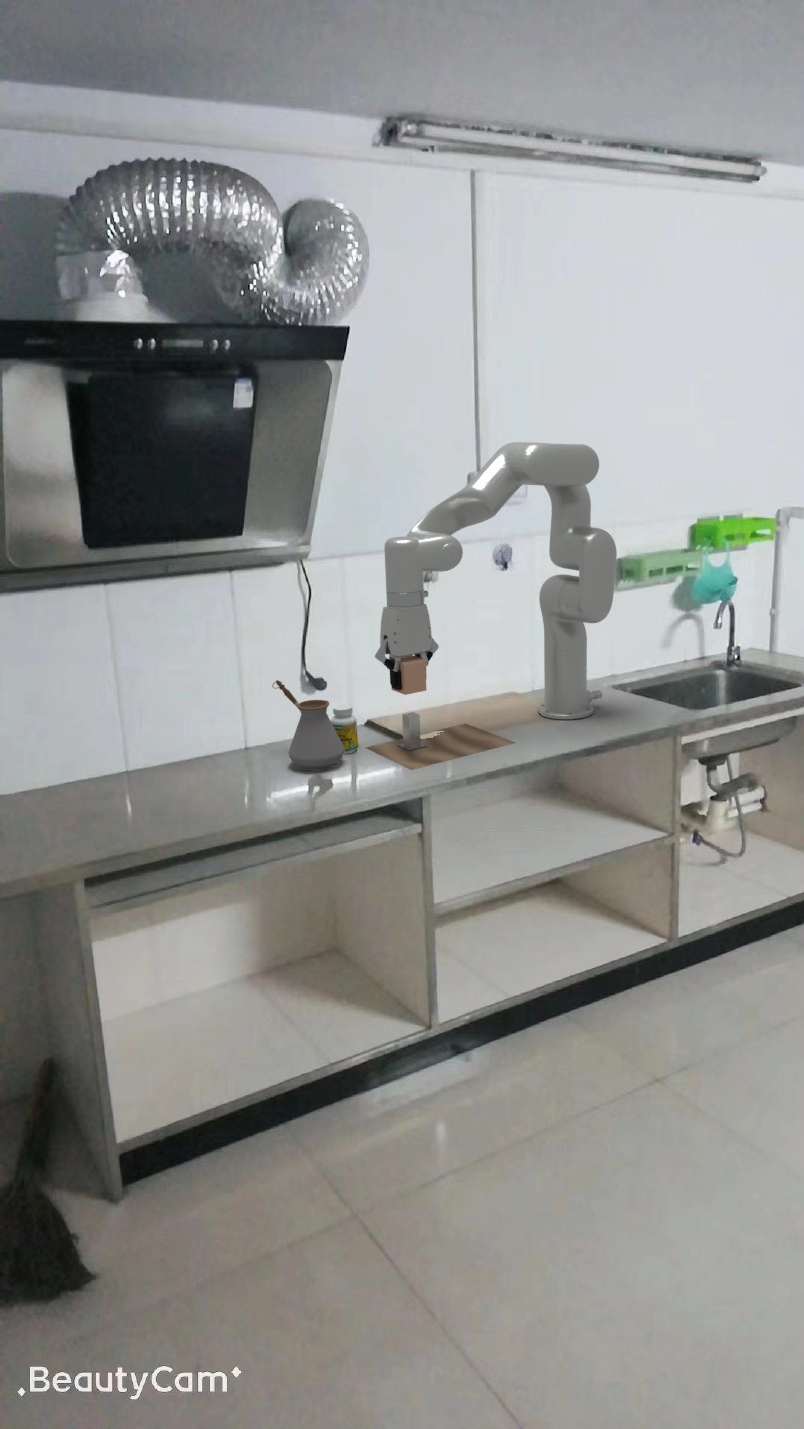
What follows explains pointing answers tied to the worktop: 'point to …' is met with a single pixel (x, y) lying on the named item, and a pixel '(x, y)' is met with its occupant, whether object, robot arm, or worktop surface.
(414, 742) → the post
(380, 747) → the board
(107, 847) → the worktop surface
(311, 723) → the coffee pot
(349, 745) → the supplement bottle
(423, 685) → the tan wooden brick
